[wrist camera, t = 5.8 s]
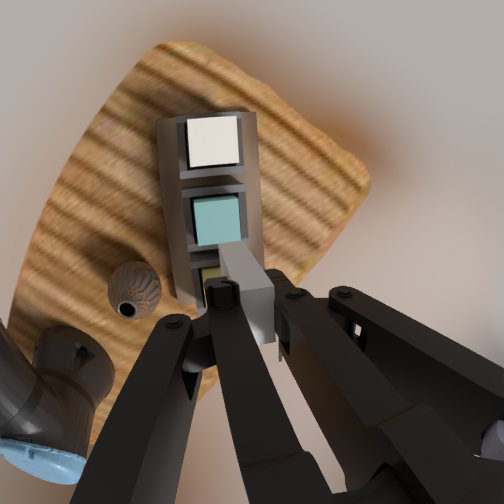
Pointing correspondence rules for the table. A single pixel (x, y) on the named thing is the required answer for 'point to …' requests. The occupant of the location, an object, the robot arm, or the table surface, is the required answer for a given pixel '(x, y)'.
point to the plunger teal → (217, 219)
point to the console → (204, 184)
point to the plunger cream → (213, 141)
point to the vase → (134, 290)
